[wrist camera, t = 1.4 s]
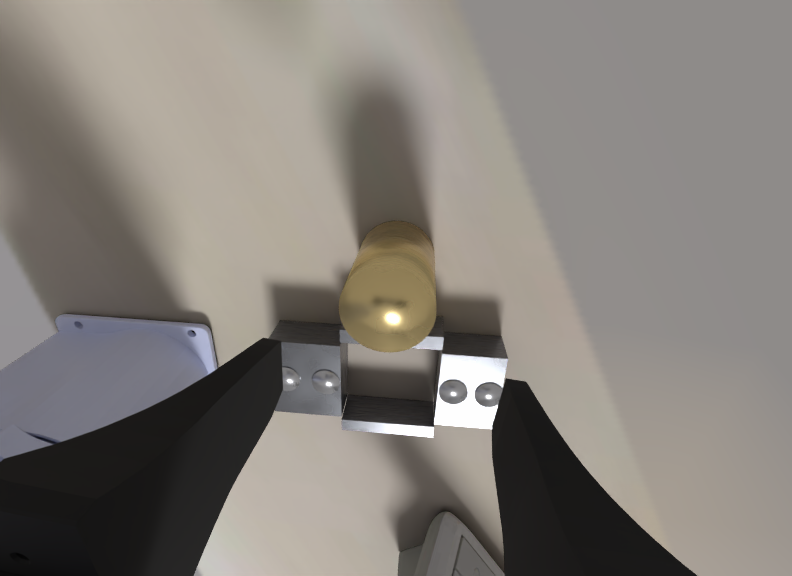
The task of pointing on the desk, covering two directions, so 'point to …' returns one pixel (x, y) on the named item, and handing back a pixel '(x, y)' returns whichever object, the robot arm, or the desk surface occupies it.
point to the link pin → (391, 289)
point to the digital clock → (448, 552)
